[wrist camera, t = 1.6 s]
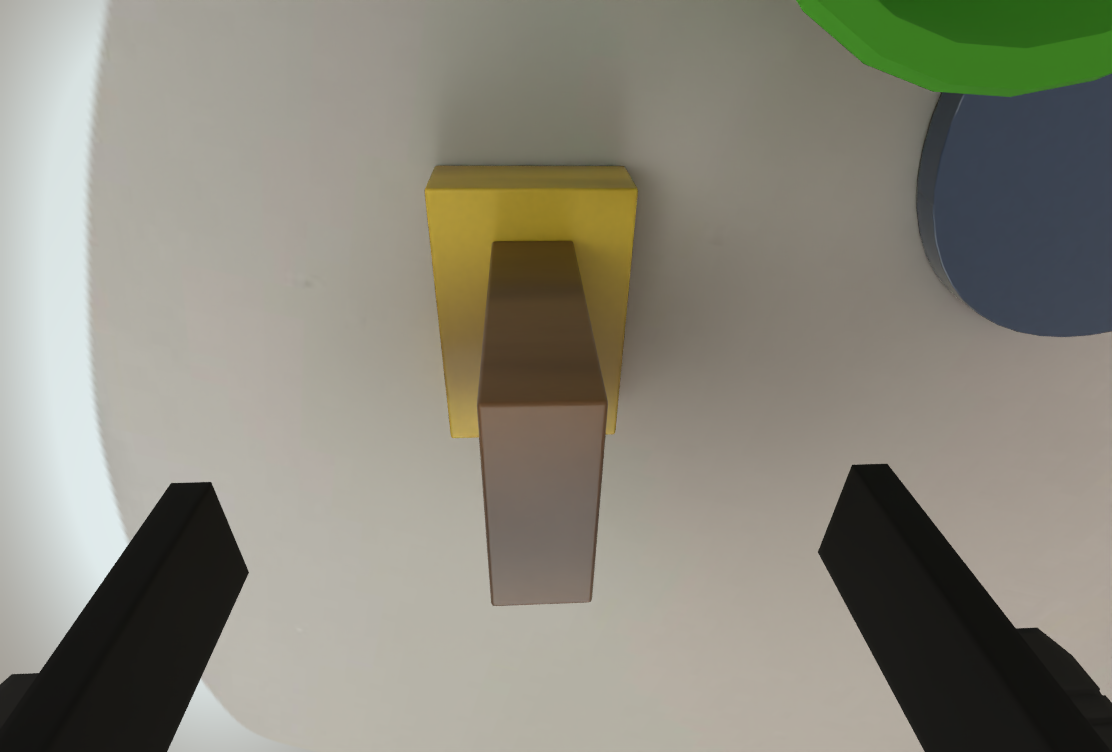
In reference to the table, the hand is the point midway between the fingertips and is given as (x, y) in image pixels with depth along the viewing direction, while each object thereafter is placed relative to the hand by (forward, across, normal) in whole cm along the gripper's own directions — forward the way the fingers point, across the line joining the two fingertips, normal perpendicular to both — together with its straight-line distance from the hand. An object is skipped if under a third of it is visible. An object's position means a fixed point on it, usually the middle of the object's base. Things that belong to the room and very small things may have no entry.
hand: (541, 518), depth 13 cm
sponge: (+10, 0, 0) cm, 10 cm away
